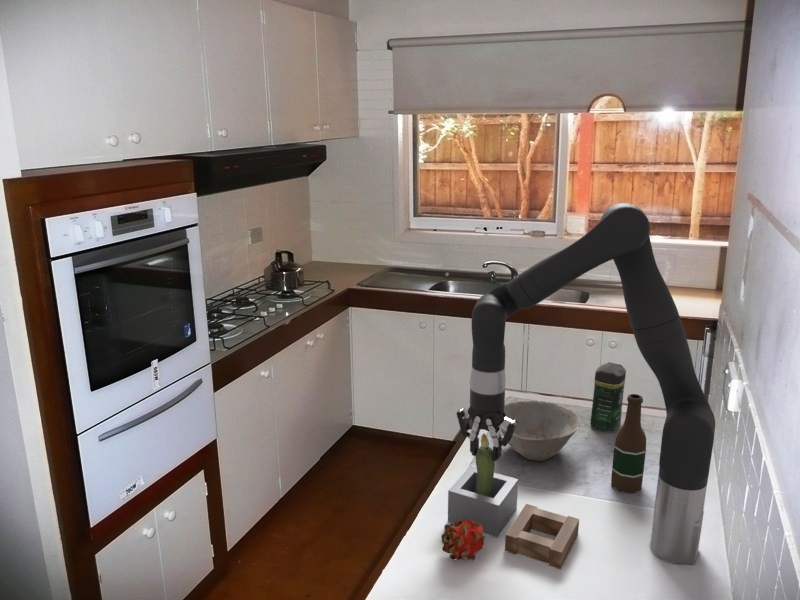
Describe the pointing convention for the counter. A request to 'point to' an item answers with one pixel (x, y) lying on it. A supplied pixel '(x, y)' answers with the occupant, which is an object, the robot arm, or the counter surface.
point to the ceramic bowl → (540, 428)
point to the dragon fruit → (463, 539)
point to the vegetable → (484, 468)
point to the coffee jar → (608, 397)
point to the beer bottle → (629, 449)
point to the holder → (483, 501)
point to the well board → (540, 547)
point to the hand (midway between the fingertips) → (485, 456)
